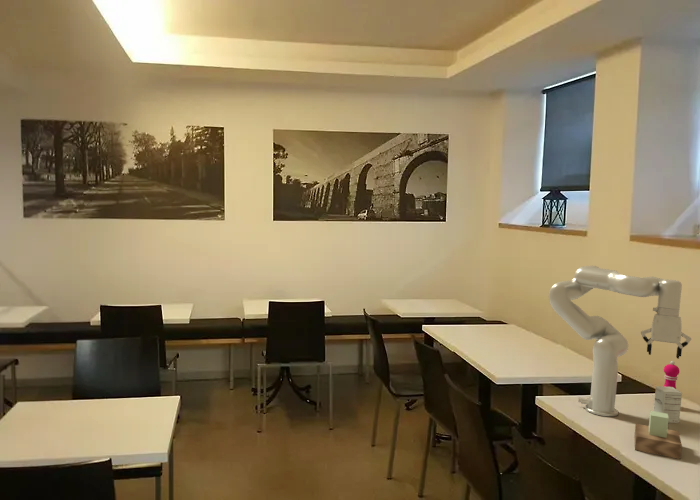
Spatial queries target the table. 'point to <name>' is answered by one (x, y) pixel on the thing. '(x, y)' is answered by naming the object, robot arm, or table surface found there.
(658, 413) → the sage block
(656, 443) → the walnut riser block
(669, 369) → the pepper mill
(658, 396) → the supplement box
